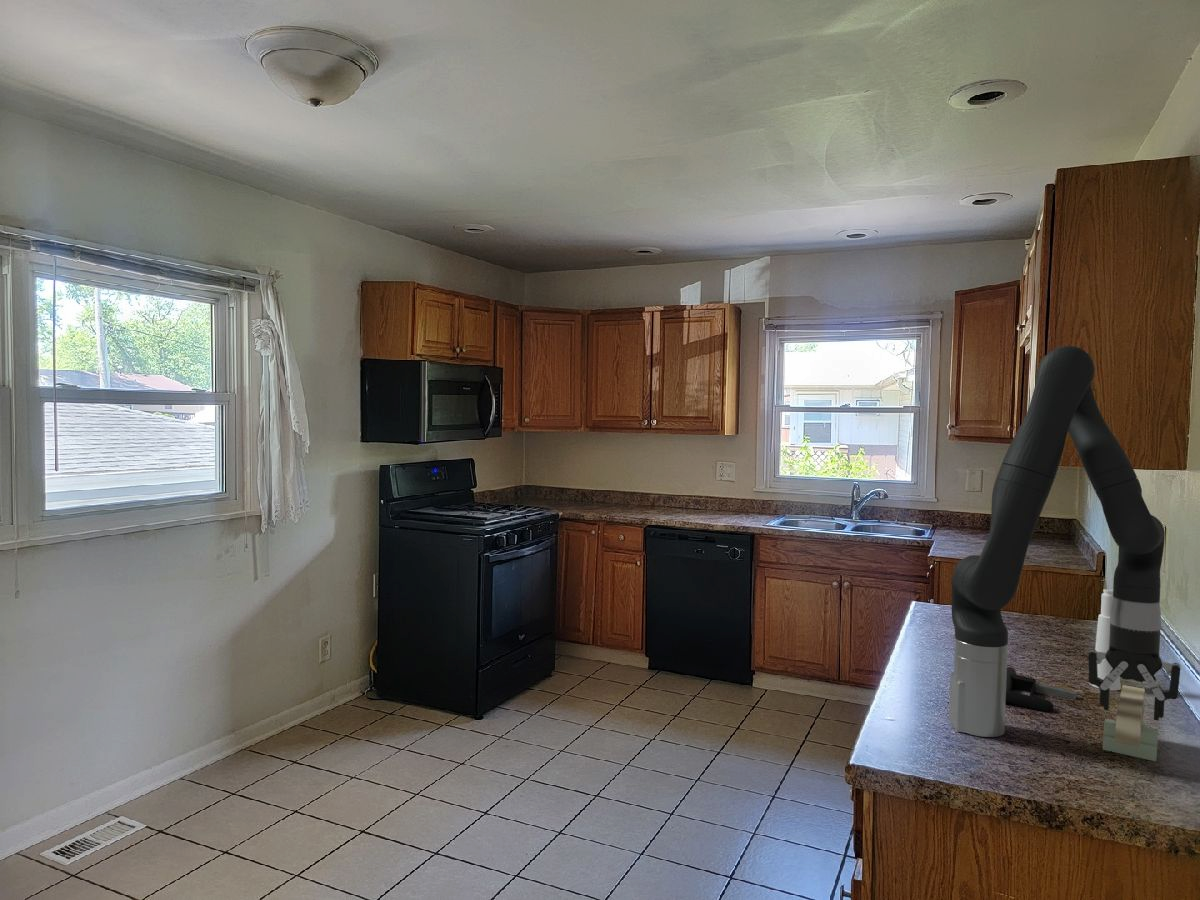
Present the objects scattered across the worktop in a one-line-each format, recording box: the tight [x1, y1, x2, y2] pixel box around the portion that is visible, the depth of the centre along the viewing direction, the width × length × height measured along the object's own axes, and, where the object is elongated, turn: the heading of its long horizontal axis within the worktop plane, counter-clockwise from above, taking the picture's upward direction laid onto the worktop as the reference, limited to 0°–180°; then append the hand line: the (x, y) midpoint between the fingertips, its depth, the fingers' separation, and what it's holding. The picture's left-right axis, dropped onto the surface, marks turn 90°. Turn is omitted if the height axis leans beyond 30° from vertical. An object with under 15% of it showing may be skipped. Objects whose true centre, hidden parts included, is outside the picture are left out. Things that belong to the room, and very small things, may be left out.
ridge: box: [1102, 718, 1159, 762], centre depth 142 cm, size 5×8×4 cm, turn 53°
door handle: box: [1006, 666, 1078, 713], centre depth 171 cm, size 3×20×16 cm
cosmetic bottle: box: [1089, 588, 1122, 692], centre depth 177 cm, size 6×6×22 cm
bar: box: [1115, 684, 1146, 747], centre depth 142 cm, size 18×4×4 cm, turn 143°
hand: (1131, 713), depth 142 cm, fingers open, 7 cm apart
